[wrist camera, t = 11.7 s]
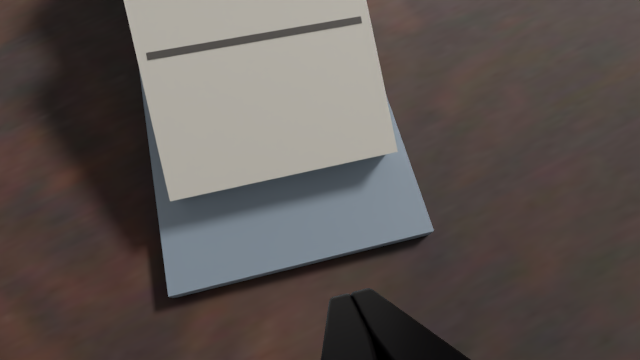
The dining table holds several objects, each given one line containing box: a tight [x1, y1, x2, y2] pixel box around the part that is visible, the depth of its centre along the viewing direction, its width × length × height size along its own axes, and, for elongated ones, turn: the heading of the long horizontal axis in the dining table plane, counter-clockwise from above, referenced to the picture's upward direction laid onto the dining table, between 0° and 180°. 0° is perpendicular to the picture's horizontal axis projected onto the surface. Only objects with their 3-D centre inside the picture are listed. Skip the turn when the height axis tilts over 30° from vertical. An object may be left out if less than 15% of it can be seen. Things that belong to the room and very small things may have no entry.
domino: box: [124, 0, 398, 201], centre depth 19 cm, size 2×10×12 cm
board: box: [139, 69, 434, 298], centre depth 23 cm, size 25×12×1 cm, turn 14°
